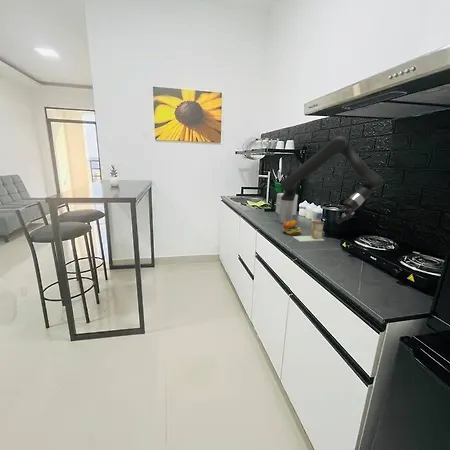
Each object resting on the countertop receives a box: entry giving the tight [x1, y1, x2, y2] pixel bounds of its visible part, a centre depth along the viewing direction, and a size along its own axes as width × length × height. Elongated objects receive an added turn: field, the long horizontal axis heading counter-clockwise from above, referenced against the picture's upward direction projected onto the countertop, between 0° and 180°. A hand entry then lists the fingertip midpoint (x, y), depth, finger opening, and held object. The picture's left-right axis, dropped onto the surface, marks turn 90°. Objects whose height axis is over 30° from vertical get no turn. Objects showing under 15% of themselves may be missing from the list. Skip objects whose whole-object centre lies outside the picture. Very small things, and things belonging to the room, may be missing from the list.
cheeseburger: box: [282, 219, 302, 236], centre depth 160 cm, size 10×11×10 cm
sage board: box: [292, 235, 325, 243], centre depth 151 cm, size 16×9×1 cm, turn 103°
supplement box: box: [275, 192, 299, 216], centre depth 219 cm, size 13×13×18 cm
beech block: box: [310, 220, 324, 239], centre depth 151 cm, size 4×4×10 cm
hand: (334, 221), depth 152 cm, fingers open, 6 cm apart
